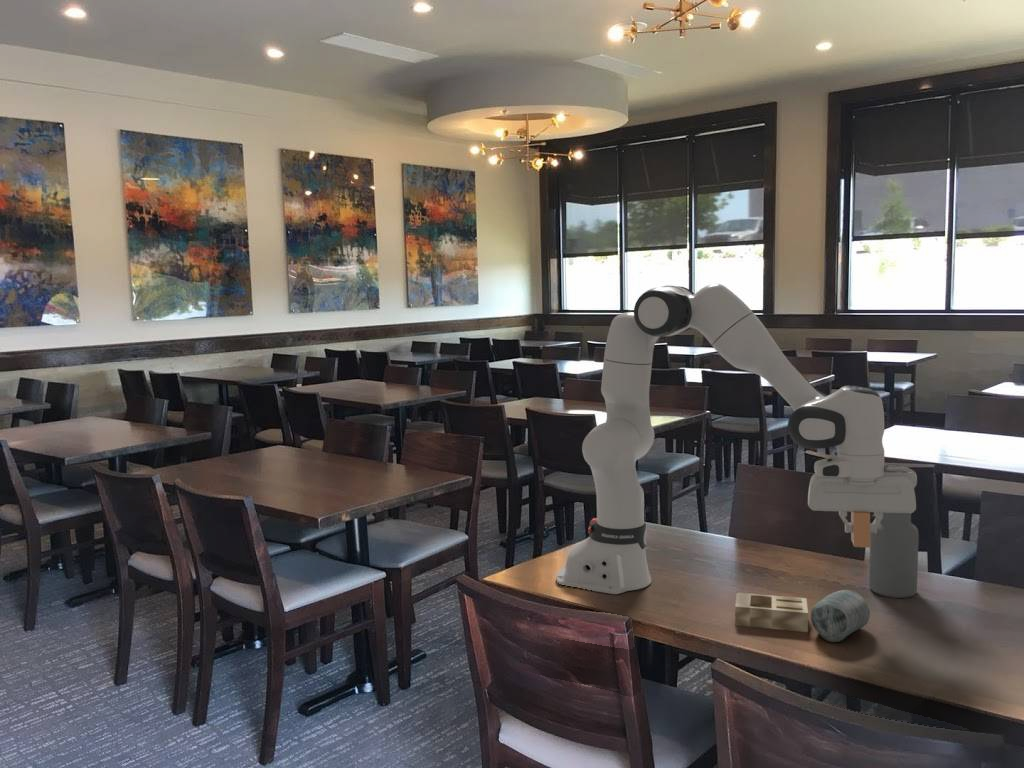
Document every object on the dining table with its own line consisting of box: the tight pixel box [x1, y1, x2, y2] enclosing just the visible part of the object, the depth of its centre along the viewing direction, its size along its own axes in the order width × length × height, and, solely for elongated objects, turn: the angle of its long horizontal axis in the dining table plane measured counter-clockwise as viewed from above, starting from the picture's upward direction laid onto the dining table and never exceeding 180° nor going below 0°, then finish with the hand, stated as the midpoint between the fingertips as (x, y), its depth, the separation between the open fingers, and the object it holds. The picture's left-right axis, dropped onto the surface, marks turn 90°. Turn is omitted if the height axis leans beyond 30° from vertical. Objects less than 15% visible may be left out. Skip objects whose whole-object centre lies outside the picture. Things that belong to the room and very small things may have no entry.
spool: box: [810, 589, 871, 643], centre depth 159 cm, size 14×10×10 cm
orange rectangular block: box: [850, 512, 871, 549], centre depth 165 cm, size 3×5×7 cm, turn 163°
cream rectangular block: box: [734, 592, 809, 633], centre depth 166 cm, size 14×8×4 cm, turn 72°
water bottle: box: [868, 471, 920, 599], centre depth 180 cm, size 10×10×28 cm
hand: (860, 532), depth 165 cm, fingers closed on orange rectangular block, 3 cm apart
